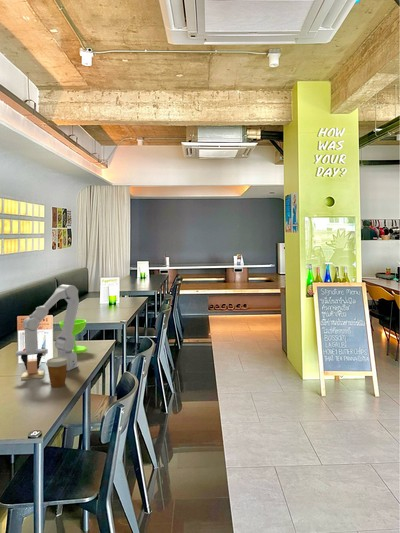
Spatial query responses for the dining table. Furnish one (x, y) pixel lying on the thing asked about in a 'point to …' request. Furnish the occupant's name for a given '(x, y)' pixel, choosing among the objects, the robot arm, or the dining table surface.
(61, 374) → the disposable coffee cup
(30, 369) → the terracotta block
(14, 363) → the dining table surface
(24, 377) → the birch board
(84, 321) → the wineglass
